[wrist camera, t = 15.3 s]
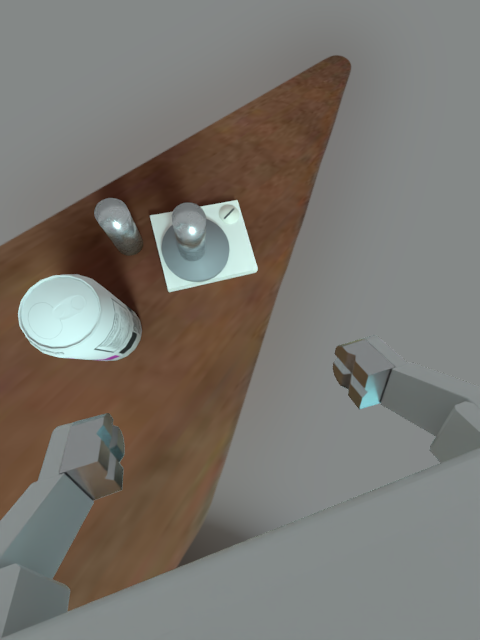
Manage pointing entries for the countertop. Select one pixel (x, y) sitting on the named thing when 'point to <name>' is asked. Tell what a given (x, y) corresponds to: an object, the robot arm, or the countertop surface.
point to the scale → (221, 248)
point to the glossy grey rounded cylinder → (190, 230)
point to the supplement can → (78, 319)
